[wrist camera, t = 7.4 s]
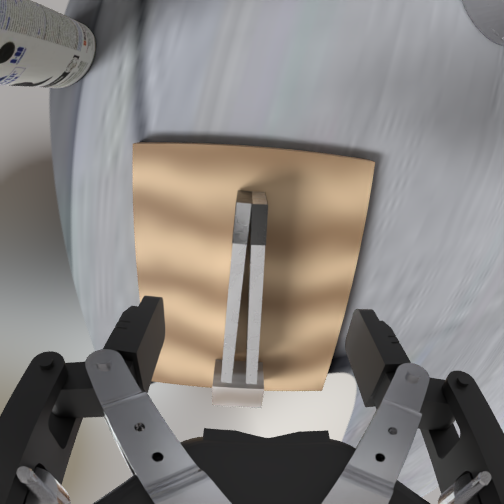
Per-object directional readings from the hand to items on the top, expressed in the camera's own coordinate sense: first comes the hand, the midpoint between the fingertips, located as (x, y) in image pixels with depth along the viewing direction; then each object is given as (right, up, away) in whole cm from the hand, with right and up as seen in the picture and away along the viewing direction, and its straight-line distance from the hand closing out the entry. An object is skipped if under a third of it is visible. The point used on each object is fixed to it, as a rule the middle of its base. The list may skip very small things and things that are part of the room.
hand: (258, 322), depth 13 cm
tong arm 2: (0, 0, +16) cm, 16 cm away
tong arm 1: (-2, 0, +16) cm, 16 cm away
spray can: (-17, +21, +9) cm, 29 cm away
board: (-1, 0, +18) cm, 18 cm away
